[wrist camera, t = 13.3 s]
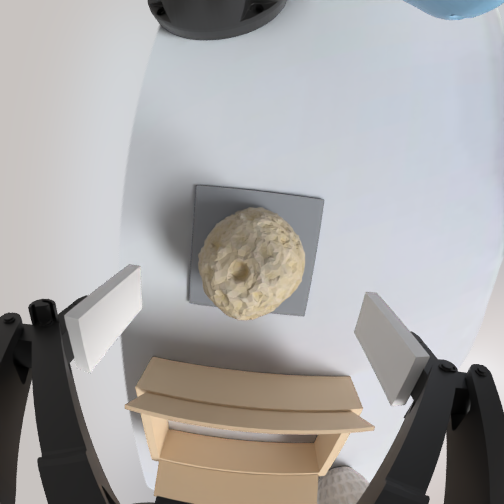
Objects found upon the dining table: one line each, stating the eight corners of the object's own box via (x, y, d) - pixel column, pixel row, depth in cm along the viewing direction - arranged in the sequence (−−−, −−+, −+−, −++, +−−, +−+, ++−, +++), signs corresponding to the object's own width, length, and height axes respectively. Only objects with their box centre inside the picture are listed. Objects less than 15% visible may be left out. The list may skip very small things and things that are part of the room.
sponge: (209, 242, 31) (174, 319, 24) (228, 172, 24) (181, 257, 17) (288, 271, 32) (270, 353, 25) (327, 211, 24) (318, 308, 18)
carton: (151, 339, 30) (112, 402, 19) (356, 360, 30) (386, 426, 19) (163, 440, 36) (145, 494, 25) (315, 455, 36) (323, 510, 25)
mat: (197, 185, 26) (196, 185, 26) (323, 199, 26) (324, 199, 26) (190, 301, 29) (189, 303, 29) (303, 314, 29) (304, 316, 29)
